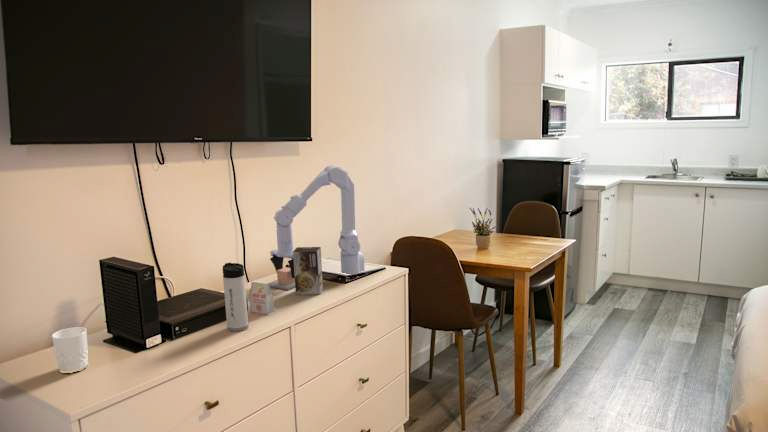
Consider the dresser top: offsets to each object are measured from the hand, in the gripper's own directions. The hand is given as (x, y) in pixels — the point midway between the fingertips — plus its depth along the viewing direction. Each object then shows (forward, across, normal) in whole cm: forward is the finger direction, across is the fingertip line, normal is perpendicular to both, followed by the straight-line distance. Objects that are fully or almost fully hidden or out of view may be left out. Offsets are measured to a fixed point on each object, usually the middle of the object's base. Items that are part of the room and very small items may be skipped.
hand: (287, 276), depth 218 cm
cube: (+2, 0, 0) cm, 2 cm away
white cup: (+3, +4, -83) cm, 83 cm away
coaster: (+3, 0, 0) cm, 3 cm away
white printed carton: (+3, +15, -27) cm, 31 cm away
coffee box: (+3, +14, -3) cm, 15 cm away
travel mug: (+3, +19, -41) cm, 45 cm away
